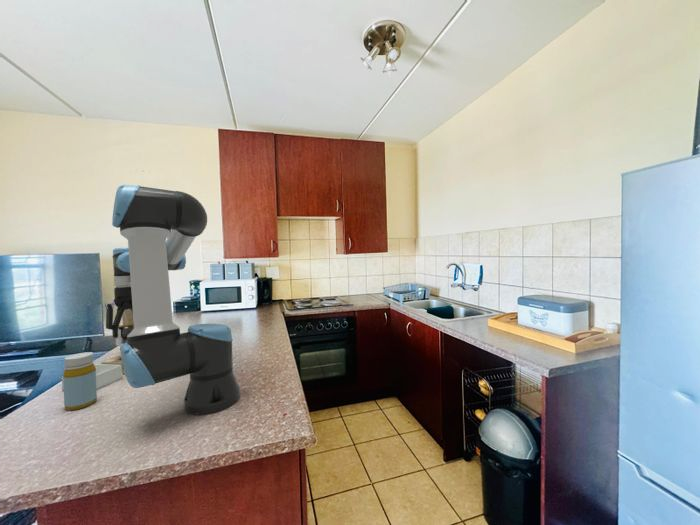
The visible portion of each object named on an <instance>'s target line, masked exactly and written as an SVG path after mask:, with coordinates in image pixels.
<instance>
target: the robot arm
mask: <svg viewBox="0 0 700 525" xmlns="http://www.w3.org/2000/svg"><path fill="white" fill-rule="evenodd" d="M111 220H112V221H111V222H112V223H111V225H112V227H115V228H117V229H118V228H119V234H120V236H122V237H124V239H126V240H127V246H128V247H116V248H114V249H112V256H111V257H112V266H113V286H114V289H113V293H114V299H113V300H112V301H111V302H108V303H105V304H104V306H105V309H106V314H105V316H106V317H105V318H106V320H105V328H106V329H107V330H111V331H112V338H113V339H115V346H117V347H119V350H120V356H121V359H122V364H123V368H124V371H125V374H124V375H125V377H126V380H127V382H128V384H129V386H130V387H131V388H134V389H140V388H145V387H149V386H155V385H157V384H159V383H163V382H166V381H167V382H168V381H170V380H173V379H177V378H181V377H184V376H187V375H189V382H188V385H187V389H186V392H185V396H184V399H183V409H184V411H185V412H186V413H187V414H191V415H197V416H198V415H199V416H200V415H207V414H212V413H217V412H221V411H222V410H225V409H227V408H229V407H231V406H232V405H234V404H235V403H236V402H238V400H239V399H240V392H241V391H240V386H239V385H238V382H237V379H236V376H235V374H234V368H233V364H234V362H233V359H234V358H233V337H232V330H231V327H230V326H228V325H225V324H220V323H197V324H192V325H189V326H188V328H187V332H182V333H181V328H180V326H179V325H177V324H176V323H174V322H173V310H172V297H171V288H170V276H169V271H177V270H178V271H179V270H184V269H185V268H186V263H187V257H186V253H187V252H188V250H189V248H190V247H191V246H192V244H193V242H194V240H195V239H196V237H198V236H200V235H202V234H203V233H204V231H205V229H206V227H207V226H208V215H207V212H206V209H205V207H204V206H203V204H202V203H201V202H200V201H199V200H198V199H197V198H196V197H194V196H193V195H192V194H188V193H186V192H183V191H178V190H169V189H161V188H155V187H149V186H148V187H147V186H141V185H133V184H131V185H130V184H122V185H119V186H118V187H117V188H116V192H115V196H114V204H113V210H112V219H111ZM115 306H116V307H117V308H116V313H115V316H114V307H115ZM127 309H130V310H131V311H132V313H133V321H134V329H133V330H132V332H131V333H130V334H129V335H128V336H127V343H124V344H123V345H122V338H121V329H118V327H119V326H120V325H121V320H122V319H123V317H122V315H123V312H124V311H125V310H127Z"/></svg>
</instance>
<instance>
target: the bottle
mask: <svg viewBox="0 0 700 525" xmlns="http://www.w3.org/2000/svg"><path fill="white" fill-rule="evenodd" d="M94 365H95V364H94V352H92V351H87V352H86V351H85V352H80V353H74V354H71V355H68V356H65V357H64V370H63V374H62V376H63V384H64V391H63V403H64V408H65V410H68V411H77V410H81V409H84V408H87V407H89V406H92V405H93V404H94V403H95V402H96V401H97V400H98V399H97V398H98V396H97V395H98V394H97V391H98V390H97V389H96V367H95V366H94Z"/></svg>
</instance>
